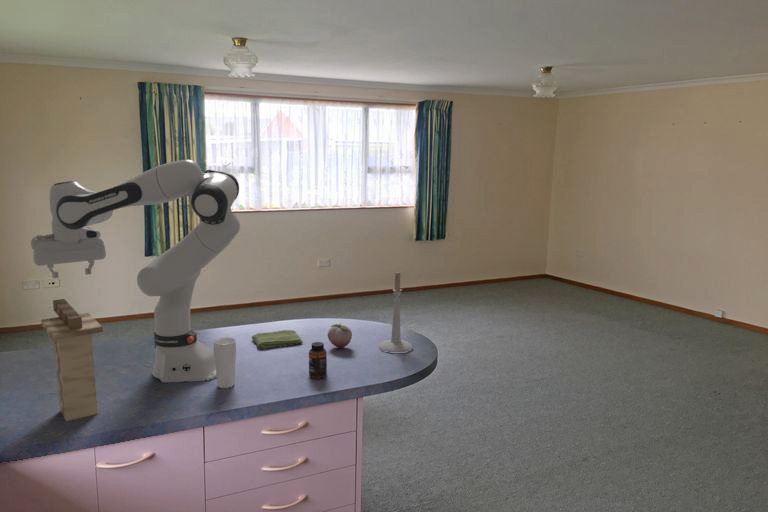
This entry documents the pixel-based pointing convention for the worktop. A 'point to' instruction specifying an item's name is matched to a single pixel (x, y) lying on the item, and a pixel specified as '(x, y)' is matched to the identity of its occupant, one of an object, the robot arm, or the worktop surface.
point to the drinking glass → (225, 361)
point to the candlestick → (396, 325)
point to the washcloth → (276, 339)
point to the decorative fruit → (339, 335)
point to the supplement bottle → (317, 361)
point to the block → (67, 314)
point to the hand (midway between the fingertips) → (72, 275)
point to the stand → (74, 365)
